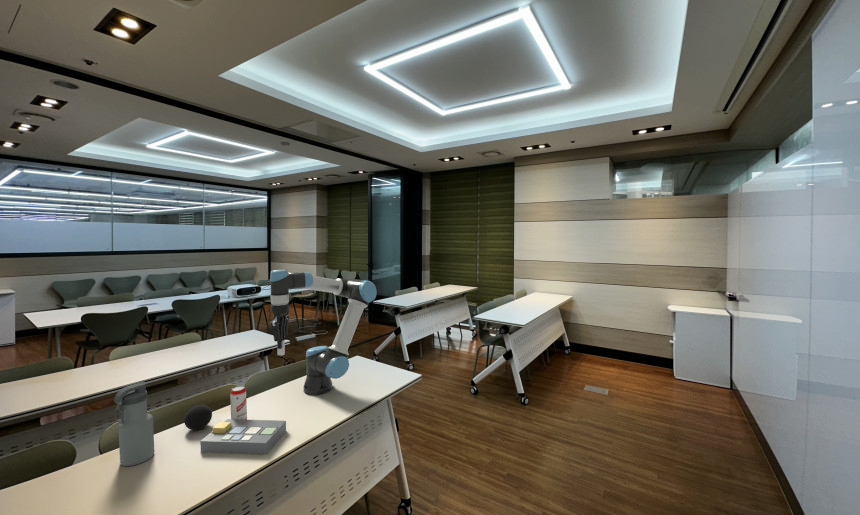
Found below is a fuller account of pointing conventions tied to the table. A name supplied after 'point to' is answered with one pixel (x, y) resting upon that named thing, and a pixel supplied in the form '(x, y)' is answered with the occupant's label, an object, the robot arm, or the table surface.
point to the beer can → (238, 403)
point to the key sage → (268, 431)
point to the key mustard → (222, 427)
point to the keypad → (244, 438)
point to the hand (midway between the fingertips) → (281, 354)
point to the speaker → (198, 417)
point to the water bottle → (134, 425)
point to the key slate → (237, 430)
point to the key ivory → (253, 430)
